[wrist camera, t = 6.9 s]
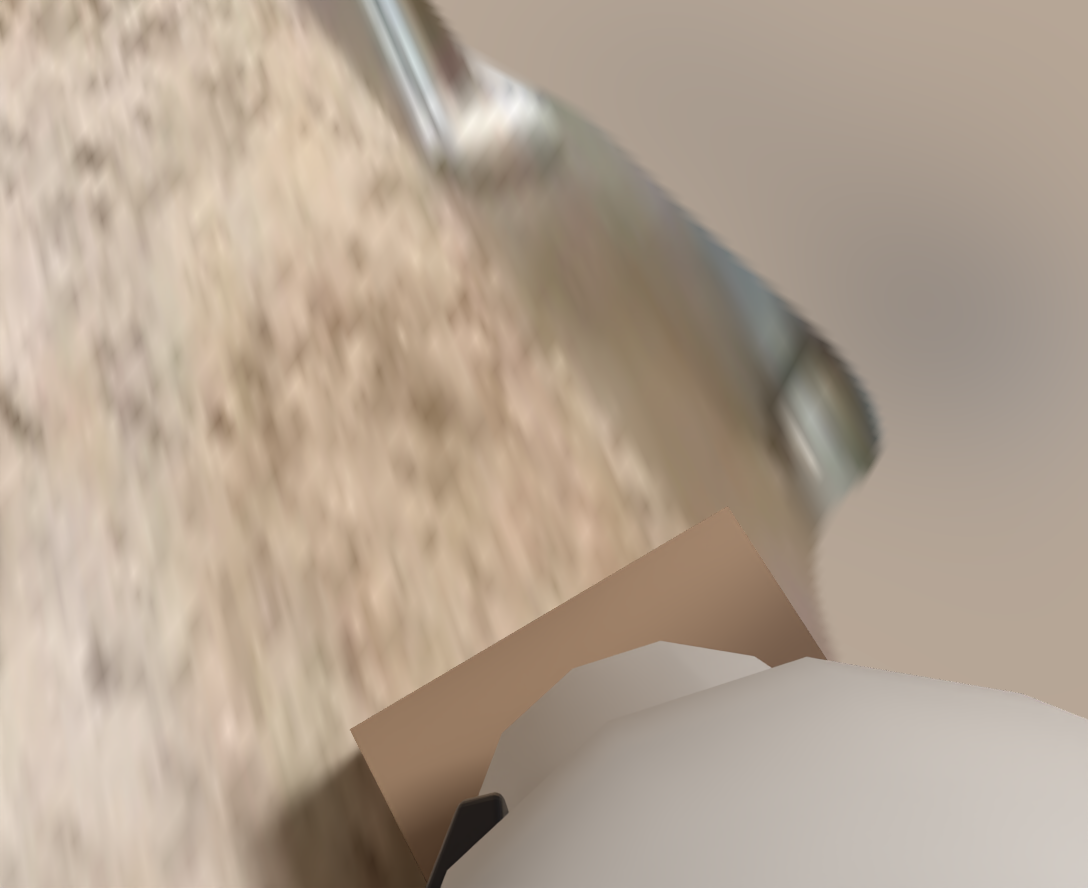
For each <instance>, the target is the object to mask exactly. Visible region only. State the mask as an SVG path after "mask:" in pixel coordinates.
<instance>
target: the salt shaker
mask: <svg viewBox="0 0 1088 888" xmlns="http://www.w3.org/2000/svg"><path fill="white" fill-rule="evenodd" d="M493 792H497V793H500V794H501V795H502V796H503V797H504V799H505V802H506V805H507V808H508V811H509V813H508V814H507V815H506V816H505V817H504V818H503V819H502V820H501V821H500V822H499V823H498V824H496V825H495V826H494V827H493V828H492V829H491V830H490V831H489V832H488V833H487V834H486V835H485V836H484V837H483V838H481V839H480V840H479V841H478V842H477V843H476V844H475V845H474V846H473V847H472V848H471V849H470V850H469V851H468V852H466V853H465V854H464V855H463V856H462V857H461V858H460V859H459V860H458V861H457V862H456V863H455V864H454V865H453V866H451V867H450V868H449V869H448V870H447V872H446V875H445V877H444V880H443V883H442V885H441V888H1088V720H1087V719H1085V718H1083V717H1080V716H1078V715H1075V714H1072V713H1070V712H1068V711H1065V710H1062V709H1060V708H1057V707H1055V706H1052V705H1050V704H1047V703H1045V702H1042V701H1040V700H1037V699H1035V698H1032V697H1029V696H1027V695H1024V694H1021V693H1015V692H1009V691H1004V690H997V689H992V688H986V687H980V686H974V685H969V684H963V683H957V682H951V681H945V680H939V679H933V678H928V677H922V676H915V675H910V674H904V673H898V672H892V671H887V670H880V669H875V668H869V667H862V666H857V665H851V664H846V663H840V662H834V661H828V660H822V659H816V658H810V657H804V658H801V659H798V660H795V661H792V662H789V663H786V664H783V665H780V666H777V667H773V668H771V667H770V666H768V665H767V664H765V663H764V662H762V661H761V660H759V659H758V658H756V657H755V656H750V655H743V654H737V653H731V652H725V651H719V650H713V649H707V648H701V647H695V646H689V645H683V644H677V643H671V642H664V641H658V642H655V643H652V644H649V645H646V646H642V647H639V648H636V649H633V650H630V651H627V652H624V653H620V654H617V655H614V656H611V657H608V658H605V659H601V660H598V661H595V662H592V663H589V664H586V665H582V666H579V667H576V668H573V669H572V670H571V671H569V672H568V673H567V674H566V675H565V676H564V677H563V678H562V679H561V680H560V681H559V682H557V683H556V684H555V685H554V686H553V687H552V688H551V689H550V690H549V691H548V692H547V693H545V694H544V695H543V696H542V697H541V698H540V699H539V700H538V701H537V702H536V703H535V704H533V705H532V706H531V707H530V708H529V709H528V710H527V711H526V712H525V713H524V714H523V715H521V716H520V717H519V718H518V719H517V720H516V721H515V722H514V723H513V724H512V725H510V726H509V727H508V728H507V729H506V730H505V731H504V732H503V733H502V734H501V737H500V739H499V742H498V745H497V747H496V750H495V753H494V755H493V758H492V761H491V763H490V766H489V768H488V771H487V774H486V776H485V779H484V782H483V784H482V787H481V790H480V792H479V795H478V796H480V795H485V794H489V793H493Z"/></svg>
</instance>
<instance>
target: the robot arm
mask: <svg viewBox="0 0 1088 888" xmlns="http://www.w3.org/2000/svg"><path fill="white" fill-rule="evenodd" d="M508 813H509V811H508V808H507V805H506V802H505V799H504V797H503V796H502V795H501V794H500V793H497V792H493V793H489V794H485V795H480V796H476V797H472V798H468V799H465V800H463V801H462V802H461V803H459V805H458V806H457V808H456V811H455V813H454V816H453V818H452V821H451V823H450V826H449V828H448V831H447V834H446V836H445V839H444V841H443V844H442V846H441V849H440V852H439V854H438V857H437V859H436V862H435V864H434V867H433V870H432V872H431V875H430V877H429V880H428V883H427V885H426V888H441V885H442V883H443V880H444V877H445V875H446V872H447V870H448V869H449V868H450V867H451V866H453V865H454V864H455V863H456V862H457V861H458V860H459V859H460V858H461V857H462V856H463V855H464V854H465V853H466V852H468V851H469V850H470V849H471V848H472V847H473V846H474V845H475V844H476V843H477V842H478V841H479V840H480V839H481V838H483V837H484V836H485V835H486V834H487V833H488V832H489V831H490V830H491V829H492V828H493V827H494V826H495V825H496V824H498V823H499V822H500V821H501V820H502V819H503V818H504V817H505V816H506V815H507V814H508Z"/></svg>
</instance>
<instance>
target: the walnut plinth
mask: <svg viewBox="0 0 1088 888" xmlns="http://www.w3.org/2000/svg"><path fill="white" fill-rule="evenodd" d="M658 641H664V642H671V643H677V644H683V645H689V646H695V647H701V648H707V649H713V650H719V651H725V652H731V653H737V654H743V655H750V656H755V657H756V658H758V659H759V660H761V661H762V662H764V663H765V664H767V665H768V666H770V667H771V668H773V667H777V666H780V665H783V664H786V663H789V662H792V661H795V660H798V659H801V658H804V657H810V658H816V659H822V660H827V659H826V657H825V656H824V654H823V653H822V651H821V650H820V648H819V647H818V645H817V644H816V642H815V640H814V639H813V637H812V636H811V634H810V633H809V631H808V630H807V628H806V627H805V625H804V623H803V622H802V620H801V619H800V617H799V616H798V614H797V613H796V611H795V609H794V608H793V606H792V605H791V603H790V602H789V600H788V599H787V597H786V596H785V594H784V592H783V591H782V589H781V588H780V586H779V585H778V583H777V582H776V580H775V579H774V577H773V575H772V574H771V572H770V571H769V569H768V568H767V566H766V565H765V563H764V562H763V560H762V558H761V557H760V555H759V554H758V552H757V551H756V549H755V548H754V546H753V545H752V543H751V541H750V540H749V538H748V537H747V535H746V534H745V532H744V531H743V529H742V528H741V526H740V524H739V523H738V521H737V520H736V518H735V517H734V515H733V514H732V512H731V511H730V509H729V507H728V506H727V507H725V508H724V509H722V510H720V511H719V512H717V513H715V514H713V515H712V516H710V517H708V518H707V519H705V520H703V521H702V522H700V523H698V524H697V525H695V526H693V527H691V528H690V529H688V530H686V531H685V532H683V533H681V534H680V535H678V536H676V537H675V538H673V539H671V540H669V541H668V542H666V543H664V544H663V545H661V546H659V547H658V548H656V549H654V550H653V551H651V552H649V553H647V554H646V555H644V556H642V557H641V558H639V559H637V560H636V561H634V562H632V563H631V564H629V565H627V566H626V567H624V568H622V569H620V570H619V571H617V572H615V573H614V574H612V575H610V576H609V577H607V578H605V579H604V580H602V581H600V582H598V583H597V584H595V585H593V586H592V587H590V588H588V589H587V590H585V591H583V592H582V593H580V594H578V595H576V596H575V597H573V598H571V599H570V600H568V601H566V602H565V603H563V604H561V605H560V606H558V607H556V608H554V609H553V610H551V611H549V612H548V613H546V614H544V615H543V616H541V617H539V618H538V619H536V620H534V621H532V622H531V623H529V624H527V625H526V626H524V627H522V628H521V629H519V630H517V631H516V632H514V633H512V634H510V635H509V636H507V637H505V638H504V639H502V640H500V641H499V642H497V643H495V644H494V645H492V646H490V647H488V648H487V649H485V650H483V651H482V652H480V653H478V654H477V655H475V656H473V657H472V658H470V659H468V660H467V661H465V662H463V663H461V664H460V665H458V666H456V667H455V668H453V669H451V670H450V671H448V672H446V673H445V674H443V675H441V676H439V677H438V678H436V679H434V680H433V681H431V682H429V683H428V684H426V685H424V686H423V687H421V688H419V689H417V690H416V691H414V692H412V693H411V694H409V695H407V696H406V697H404V698H402V699H401V700H399V701H397V702H395V703H394V704H392V705H390V706H389V707H387V708H385V709H384V710H382V711H380V712H379V713H377V714H375V715H373V716H372V717H370V718H368V719H367V720H365V721H363V722H362V723H360V724H358V725H357V726H355V727H353V728H351V729H350V731H351V733H352V735H353V737H354V739H355V741H356V743H357V745H358V747H359V749H360V751H361V752H362V754H363V756H364V758H365V760H366V762H367V764H368V766H369V768H370V770H371V772H372V774H373V776H374V778H375V780H376V782H377V784H378V786H379V788H380V790H381V792H382V794H383V796H384V798H385V800H386V802H387V804H388V806H389V808H390V810H391V812H392V814H393V816H394V818H395V820H396V822H397V824H398V826H399V828H400V830H401V832H402V834H403V836H404V838H405V840H406V842H407V844H408V846H409V848H410V850H411V852H412V854H413V856H414V858H415V860H416V862H417V864H418V866H419V868H420V870H421V872H422V874H423V876H424V878H425V880H426V882H427V883H428V880H429V877H430V875H431V872H432V870H433V867H434V864H435V862H436V859H437V857H438V854H439V852H440V849H441V846H442V844H443V841H444V839H445V836H446V834H447V831H448V828H449V826H450V823H451V821H452V818H453V816H454V813H455V811H456V808H457V806H458V805H459V803H461V802H462V801H463V800H465V799H468V798H472V797H476V796H478V795H479V792H480V790H481V787H482V784H483V782H484V779H485V776H486V774H487V771H488V768H489V766H490V763H491V761H492V758H493V755H494V753H495V750H496V747H497V745H498V742H499V739H500V737H501V734H502V733H503V732H504V731H505V730H506V729H507V728H508V727H509V726H510V725H512V724H513V723H514V722H515V721H516V720H517V719H518V718H519V717H520V716H521V715H523V714H524V713H525V712H526V711H527V710H528V709H529V708H530V707H531V706H532V705H533V704H535V703H536V702H537V701H538V700H539V699H540V698H541V697H542V696H543V695H544V694H545V693H547V692H548V691H549V690H550V689H551V688H552V687H553V686H554V685H555V684H556V683H557V682H559V681H560V680H561V679H562V678H563V677H564V676H565V675H566V674H567V673H568V672H569V671H571V670H572V669H573V668H576V667H579V666H582V665H586V664H589V663H592V662H595V661H598V660H601V659H605V658H608V657H611V656H614V655H617V654H620V653H624V652H627V651H630V650H633V649H636V648H639V647H642V646H646V645H649V644H652V643H655V642H658Z"/></svg>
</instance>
